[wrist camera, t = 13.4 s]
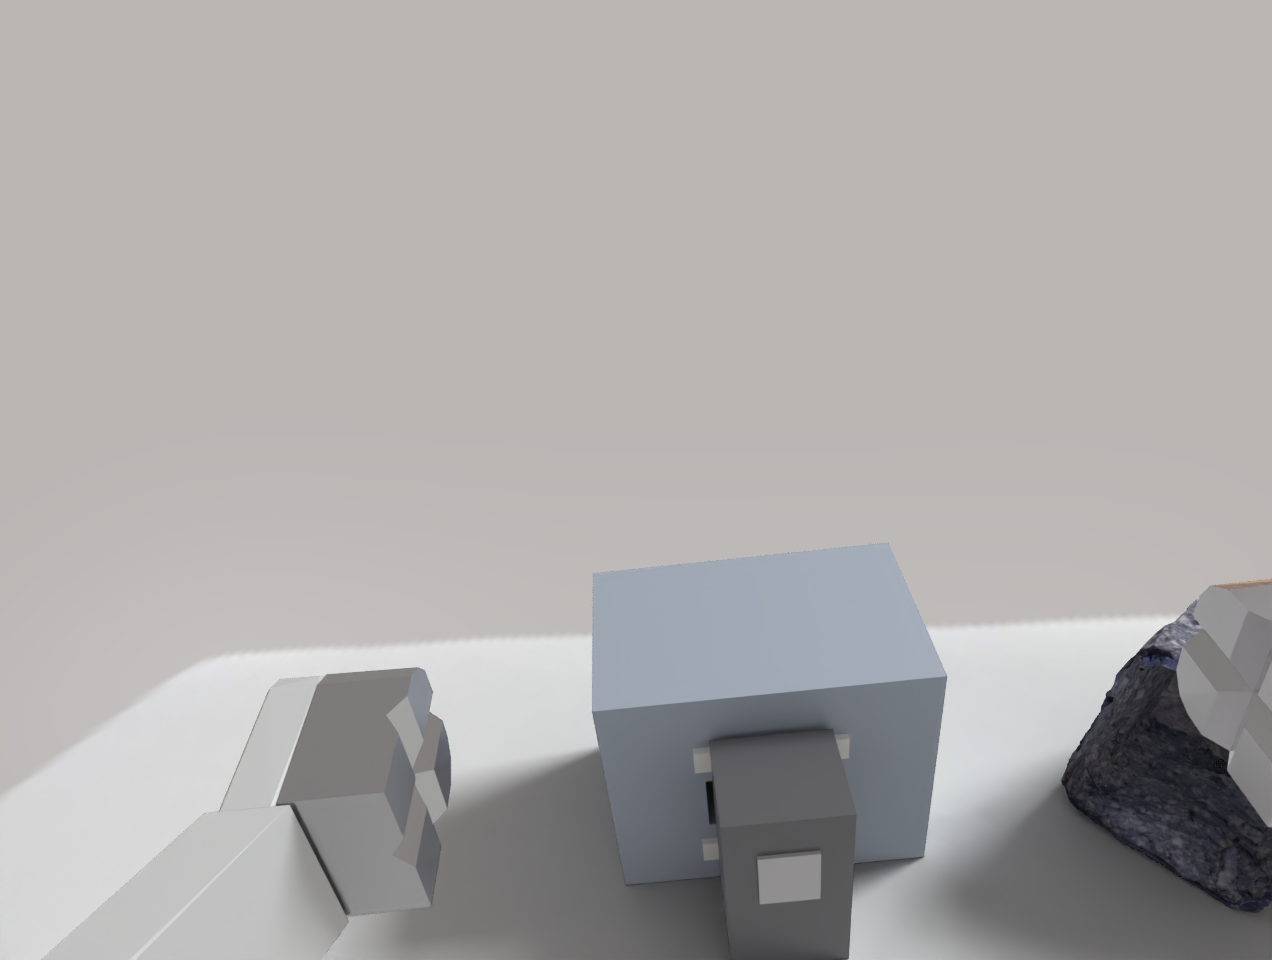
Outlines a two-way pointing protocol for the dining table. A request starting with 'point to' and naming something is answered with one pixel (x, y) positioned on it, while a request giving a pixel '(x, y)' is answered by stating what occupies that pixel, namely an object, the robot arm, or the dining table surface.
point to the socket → (761, 694)
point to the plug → (784, 845)
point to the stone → (1170, 780)
